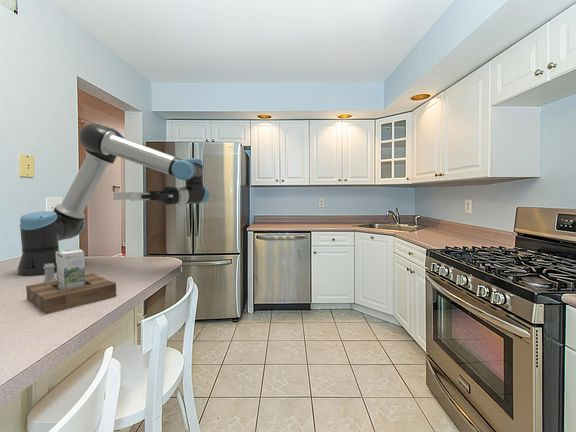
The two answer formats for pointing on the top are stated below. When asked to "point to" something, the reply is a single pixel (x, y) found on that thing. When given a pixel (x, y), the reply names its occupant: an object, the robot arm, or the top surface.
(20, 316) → the top surface
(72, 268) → the syrup box
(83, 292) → the socket block
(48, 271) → the rook chess piece
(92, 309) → the top surface
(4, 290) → the top surface
